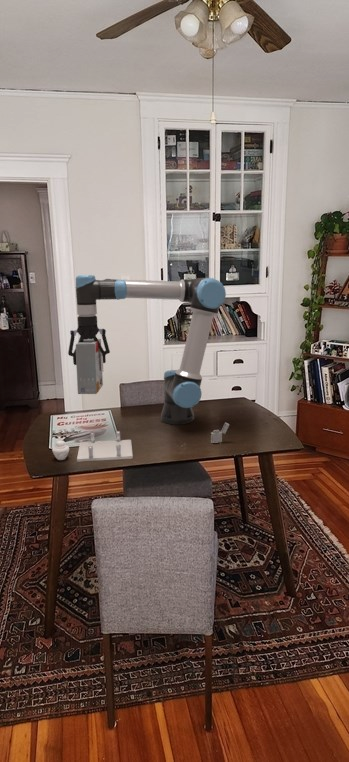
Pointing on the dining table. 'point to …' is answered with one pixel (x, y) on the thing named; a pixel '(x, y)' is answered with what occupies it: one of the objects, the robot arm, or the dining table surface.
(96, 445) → the pin tray
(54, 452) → the white lidded jar
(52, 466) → the dining table surface
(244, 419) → the dining table surface
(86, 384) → the hard drive box
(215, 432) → the lighter
